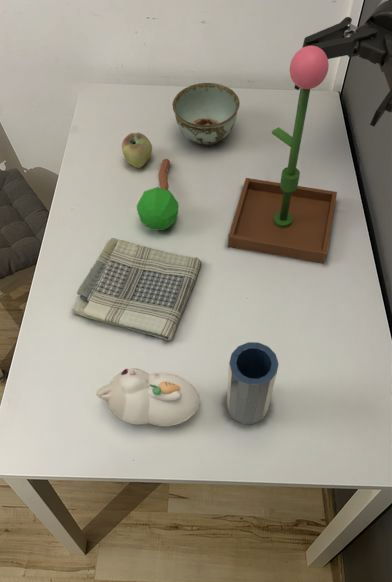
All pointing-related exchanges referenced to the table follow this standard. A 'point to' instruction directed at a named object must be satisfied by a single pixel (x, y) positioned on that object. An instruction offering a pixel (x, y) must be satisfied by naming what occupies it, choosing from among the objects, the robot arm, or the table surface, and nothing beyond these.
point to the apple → (136, 149)
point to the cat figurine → (150, 397)
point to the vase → (251, 382)
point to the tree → (158, 203)
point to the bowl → (206, 112)
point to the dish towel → (138, 288)
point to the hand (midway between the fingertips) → (335, 100)
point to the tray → (291, 240)
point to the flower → (299, 120)
